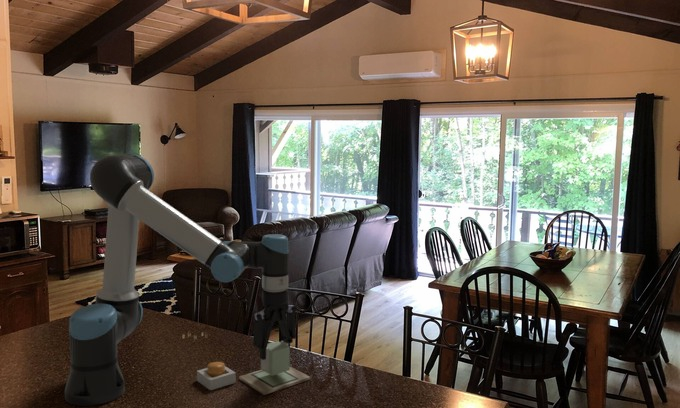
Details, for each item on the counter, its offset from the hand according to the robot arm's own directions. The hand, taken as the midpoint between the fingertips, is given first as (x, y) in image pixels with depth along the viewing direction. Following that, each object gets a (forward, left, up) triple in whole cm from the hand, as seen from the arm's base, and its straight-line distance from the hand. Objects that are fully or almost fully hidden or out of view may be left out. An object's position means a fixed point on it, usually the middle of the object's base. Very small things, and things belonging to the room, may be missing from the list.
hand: (275, 366), depth 167 cm
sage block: (0, 0, -1) cm, 1 cm away
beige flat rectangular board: (0, 0, -4) cm, 4 cm away
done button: (-14, +9, -2) cm, 17 cm away
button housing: (-14, +9, -4) cm, 17 cm away
